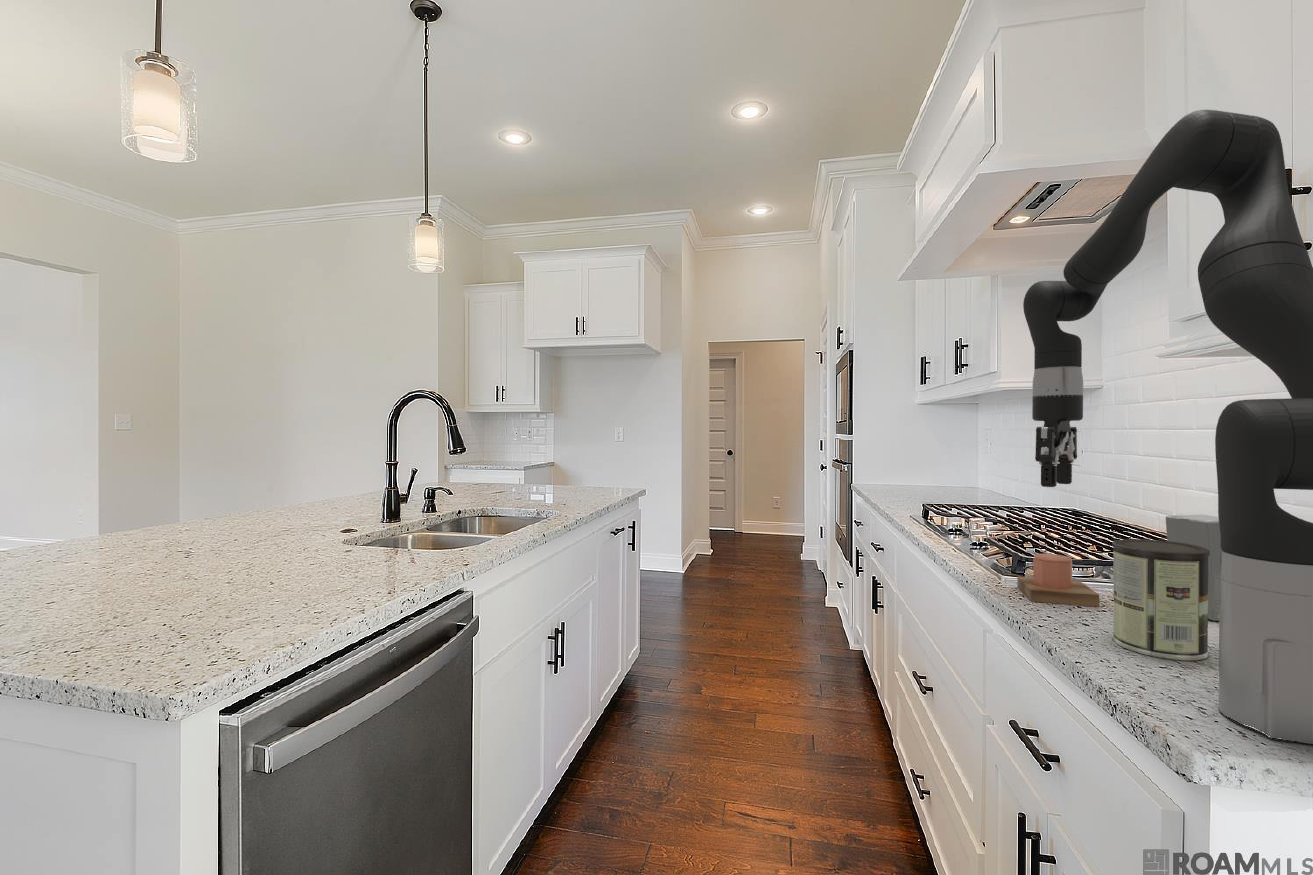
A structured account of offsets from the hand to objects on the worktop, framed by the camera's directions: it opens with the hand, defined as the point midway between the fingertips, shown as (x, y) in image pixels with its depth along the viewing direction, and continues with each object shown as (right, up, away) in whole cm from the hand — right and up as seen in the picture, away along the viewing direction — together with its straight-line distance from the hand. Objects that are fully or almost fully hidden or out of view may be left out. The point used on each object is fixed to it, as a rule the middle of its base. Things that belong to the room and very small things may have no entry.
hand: (1056, 485), depth 108 cm
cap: (0, -18, +1) cm, 18 cm away
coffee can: (-2, -21, -24) cm, 32 cm away
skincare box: (+18, -20, -10) cm, 29 cm away
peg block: (0, -20, 0) cm, 20 cm away
